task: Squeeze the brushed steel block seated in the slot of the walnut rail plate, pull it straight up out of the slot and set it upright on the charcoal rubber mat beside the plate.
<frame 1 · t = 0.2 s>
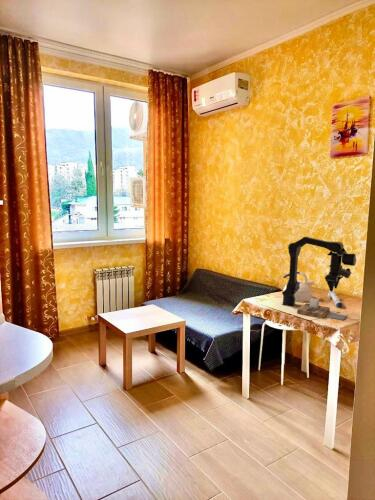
hand: (333, 289, 209), 14 cm above the table, tool pointing down, fingers open, 9 cm apart
charcoal mat: (336, 316, 204), on the table
walnut rail plate: (313, 312, 211), on the table
kettle: (297, 298, 244), on the table
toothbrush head: (334, 303, 234), on the table
steel nut block: (313, 306, 211), in the walnut rail plate
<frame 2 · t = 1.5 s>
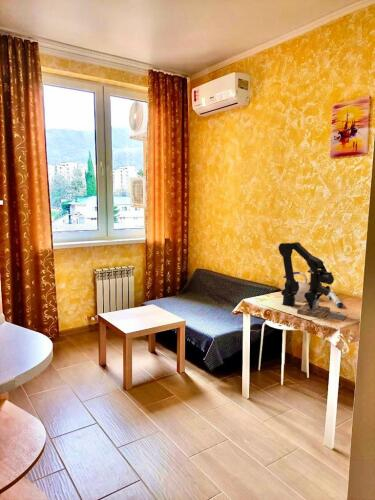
hand: (313, 306, 211), 3 cm above the table, tool pointing down, fingers open, 9 cm apart
nothing on the table moved.
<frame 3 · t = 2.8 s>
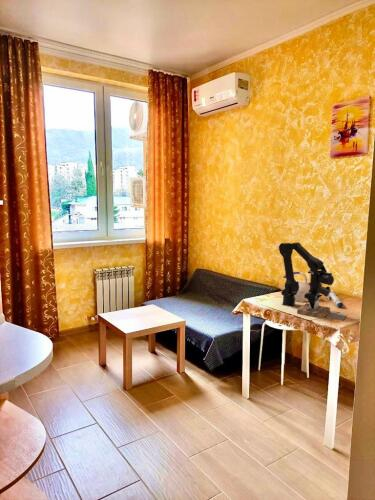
hand: (313, 307, 211), 3 cm above the table, tool pointing down, fingers closed on steel nut block, 4 cm apart
steel nut block: (313, 306, 211), in the walnut rail plate, touching gripper
everything else where it was.
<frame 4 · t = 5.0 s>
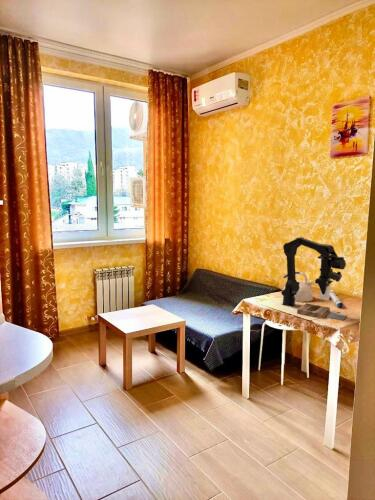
hand: (324, 293, 206), 12 cm above the table, tool pointing down, fingers closed on steel nut block, 4 cm apart
steel nut block: (324, 292, 206), point 13 cm above the table, touching gripper
everything else where it was.
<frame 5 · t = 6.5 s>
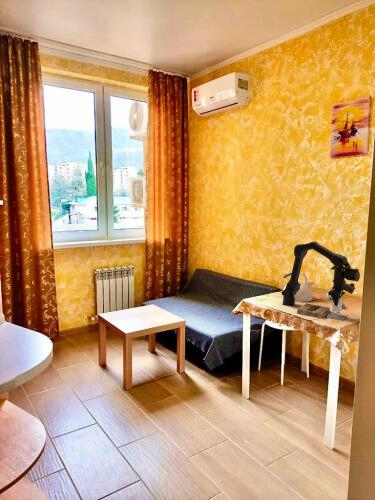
hand: (337, 305, 203), 7 cm above the table, tool pointing down, fingers closed on steel nut block, 4 cm apart
steel nut block: (337, 303, 203), point 8 cm above the table, touching gripper
everything else where it was.
when the fingers open (5 cm above the table, at t = 7.6 s): steel nut block drops 1 cm, resting on charcoal mat.
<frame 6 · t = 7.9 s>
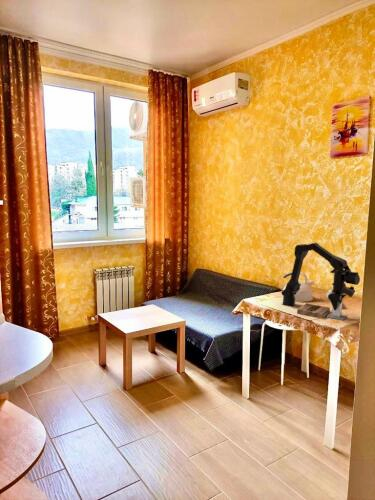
hand: (337, 308, 203), 5 cm above the table, tool pointing down, fingers open, 7 cm apart
steel nut block: (337, 309, 203), on the charcoal mat, point 5 cm above the table
everything else where it was.
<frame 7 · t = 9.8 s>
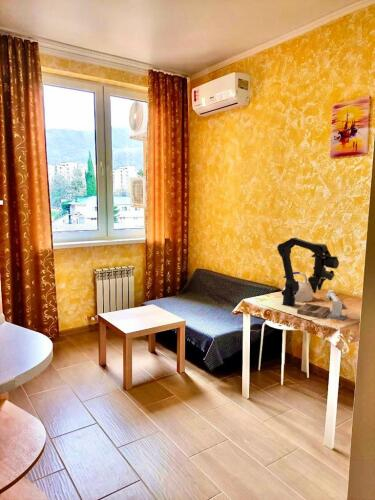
hand: (317, 291, 211), 12 cm above the table, tool pointing down, fingers open, 9 cm apart
nothing on the table moved.
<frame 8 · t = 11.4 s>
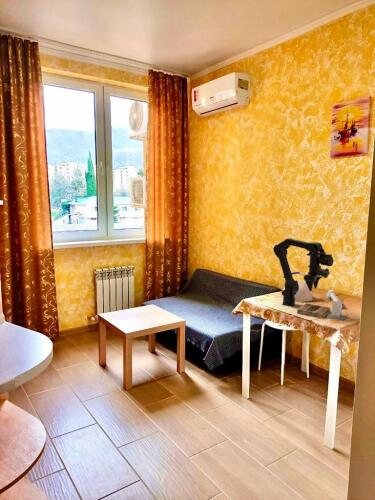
hand: (313, 289, 213), 13 cm above the table, tool pointing down, fingers open, 9 cm apart
nothing on the table moved.
at the end: steel nut block inside the target area (0.1 cm from its centre), point 4.6 cm above the table; steel nut block tilted 0°; the gripper is holding nothing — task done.
